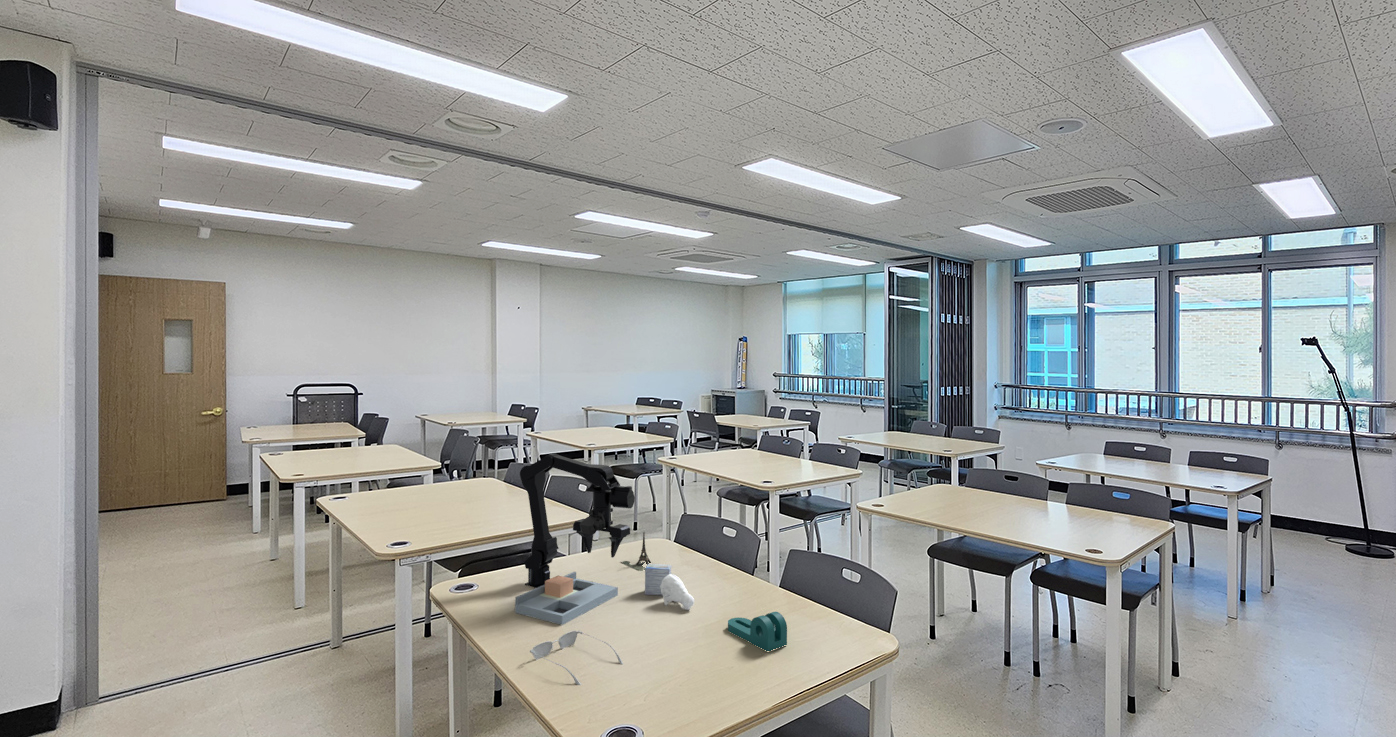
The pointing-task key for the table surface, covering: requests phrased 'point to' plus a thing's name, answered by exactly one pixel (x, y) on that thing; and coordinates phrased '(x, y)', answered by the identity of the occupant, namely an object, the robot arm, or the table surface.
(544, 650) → the eyeglasses
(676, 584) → the white animal figurine
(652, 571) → the medicine box
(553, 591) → the block
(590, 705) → the table surface
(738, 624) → the bracket
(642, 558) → the eiffel tower figurine
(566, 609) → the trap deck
